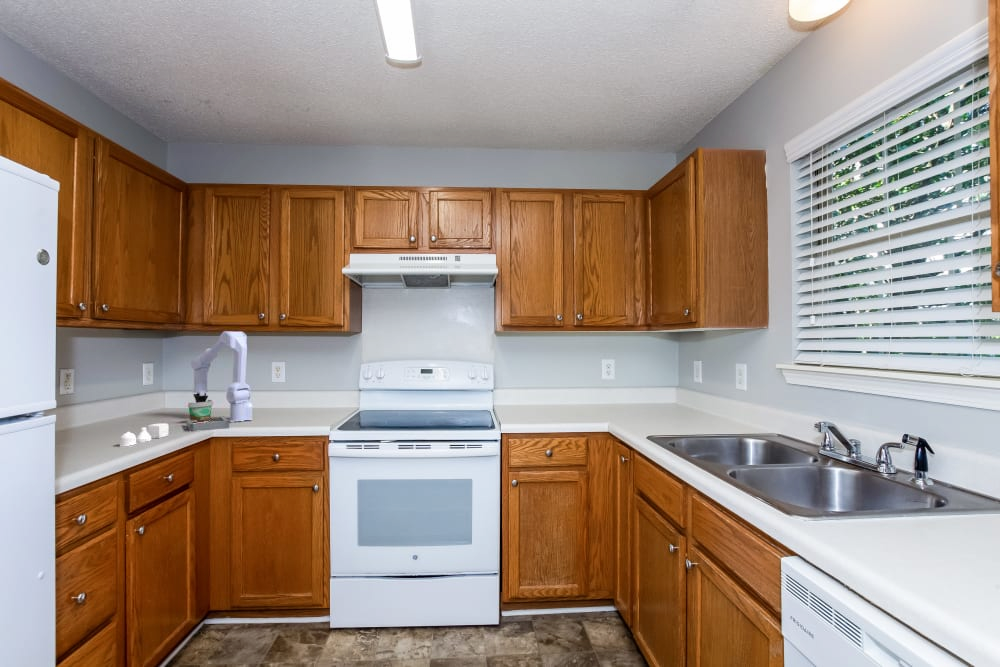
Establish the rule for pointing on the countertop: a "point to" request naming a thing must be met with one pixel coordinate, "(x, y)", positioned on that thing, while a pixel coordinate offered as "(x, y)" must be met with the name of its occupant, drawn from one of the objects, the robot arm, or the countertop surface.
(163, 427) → the container set
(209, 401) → the food container
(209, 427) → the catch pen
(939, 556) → the countertop surface
